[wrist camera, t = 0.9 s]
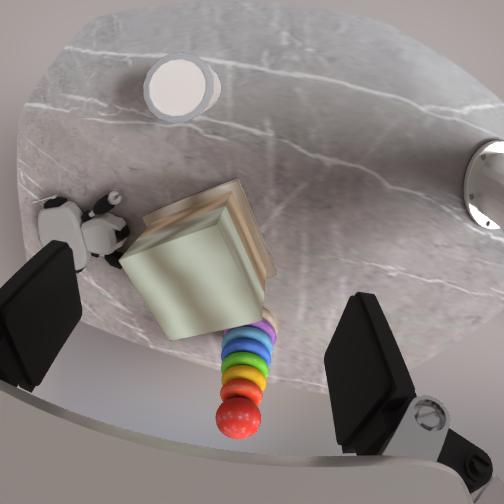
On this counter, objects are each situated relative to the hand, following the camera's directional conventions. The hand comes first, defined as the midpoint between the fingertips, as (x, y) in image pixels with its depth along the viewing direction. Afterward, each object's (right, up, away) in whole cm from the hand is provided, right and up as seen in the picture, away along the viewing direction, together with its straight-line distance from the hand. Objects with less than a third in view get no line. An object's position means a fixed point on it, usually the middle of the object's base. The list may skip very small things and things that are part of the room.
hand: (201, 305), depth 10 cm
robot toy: (-21, +5, +30) cm, 38 cm away
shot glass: (-5, +20, +21) cm, 29 cm away
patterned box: (-4, +3, +30) cm, 30 cm away
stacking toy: (+1, -9, +36) cm, 37 cm away
